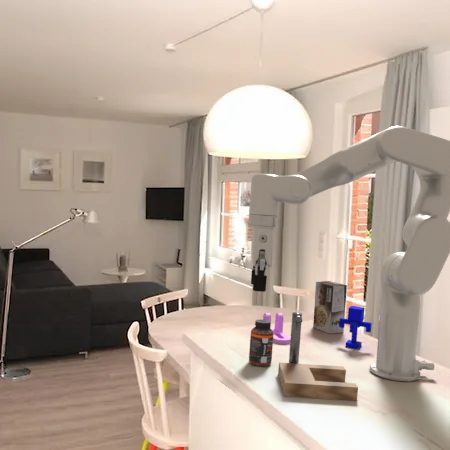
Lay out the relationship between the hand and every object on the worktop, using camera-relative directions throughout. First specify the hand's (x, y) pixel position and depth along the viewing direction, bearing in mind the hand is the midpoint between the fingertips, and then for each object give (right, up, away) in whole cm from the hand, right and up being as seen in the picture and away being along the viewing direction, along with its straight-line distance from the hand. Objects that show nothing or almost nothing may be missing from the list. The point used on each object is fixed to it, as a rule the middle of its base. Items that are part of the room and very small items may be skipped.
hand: (257, 287), depth 133 cm
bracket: (+8, -20, +27) cm, 34 cm away
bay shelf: (+13, -22, -13) cm, 28 cm away
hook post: (+9, -21, -5) cm, 23 cm away
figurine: (+31, -21, +23) cm, 44 cm away
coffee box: (+27, -20, +42) cm, 54 cm away
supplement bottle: (+1, -20, +1) cm, 20 cm away
